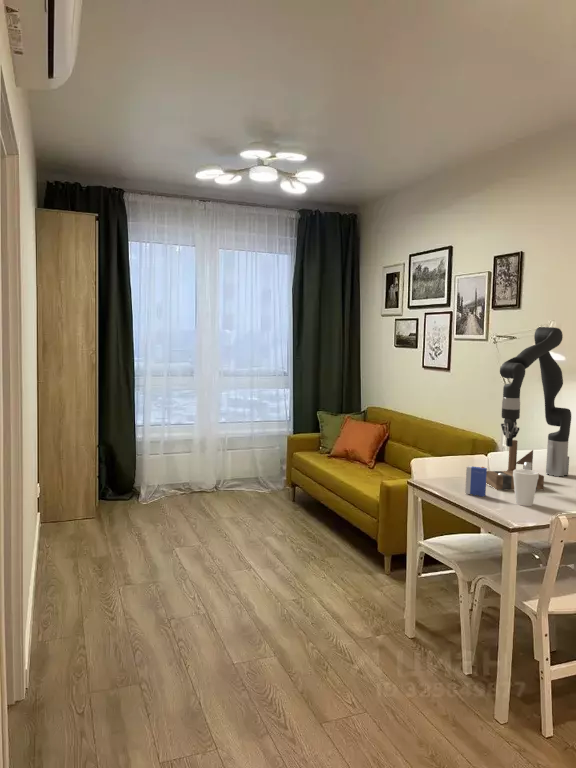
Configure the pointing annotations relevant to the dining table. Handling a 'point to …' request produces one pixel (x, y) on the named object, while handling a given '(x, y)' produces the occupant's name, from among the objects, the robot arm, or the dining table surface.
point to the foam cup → (525, 486)
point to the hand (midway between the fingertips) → (509, 446)
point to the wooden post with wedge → (513, 457)
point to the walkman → (476, 480)
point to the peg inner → (527, 465)
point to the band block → (507, 480)
